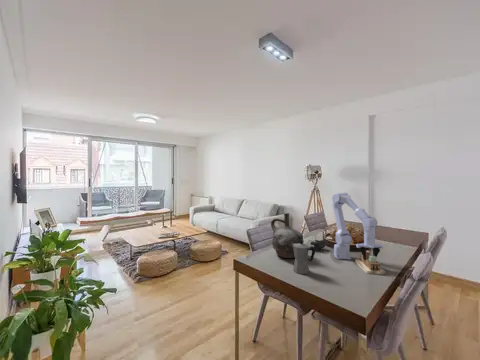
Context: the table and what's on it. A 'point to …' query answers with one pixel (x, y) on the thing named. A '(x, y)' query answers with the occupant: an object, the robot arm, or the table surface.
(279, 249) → the vessel
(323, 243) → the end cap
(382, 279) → the table surface
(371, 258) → the pale green cube
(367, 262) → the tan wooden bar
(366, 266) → the dock
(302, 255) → the coffeepot
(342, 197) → the robot arm
